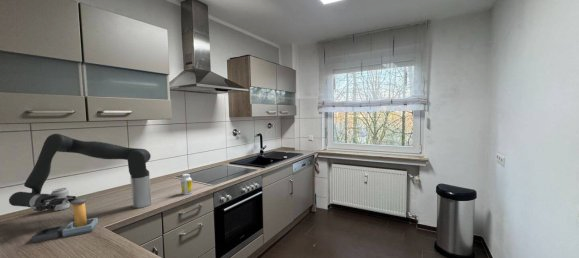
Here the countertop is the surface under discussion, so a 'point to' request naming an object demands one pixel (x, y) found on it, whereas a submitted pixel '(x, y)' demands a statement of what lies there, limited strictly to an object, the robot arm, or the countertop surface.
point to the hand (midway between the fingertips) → (65, 204)
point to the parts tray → (80, 228)
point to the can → (61, 193)
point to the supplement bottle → (186, 184)
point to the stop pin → (79, 212)
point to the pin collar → (48, 233)
